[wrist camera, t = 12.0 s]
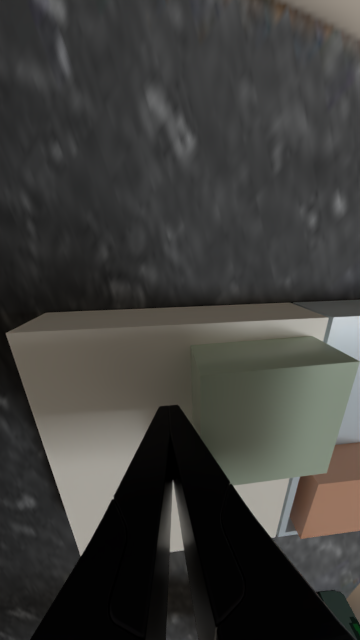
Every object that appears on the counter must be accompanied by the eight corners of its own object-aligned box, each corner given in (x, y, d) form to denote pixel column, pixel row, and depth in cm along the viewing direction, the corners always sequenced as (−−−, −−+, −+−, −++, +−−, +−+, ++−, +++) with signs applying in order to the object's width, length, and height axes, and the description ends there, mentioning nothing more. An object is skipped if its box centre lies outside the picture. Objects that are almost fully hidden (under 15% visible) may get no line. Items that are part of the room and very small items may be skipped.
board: (257, 492, 15) (275, 537, 13) (96, 511, 14) (83, 564, 12) (289, 302, 10) (328, 317, 8) (46, 312, 9) (5, 333, 7)
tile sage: (293, 429, 9) (326, 473, 8) (192, 441, 9) (201, 490, 7) (311, 335, 8) (359, 361, 6) (190, 345, 7) (200, 375, 6)
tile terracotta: (346, 492, 14) (374, 528, 12) (281, 500, 14) (300, 538, 12) (367, 441, 13) (403, 474, 11) (294, 448, 12) (318, 484, 10)
